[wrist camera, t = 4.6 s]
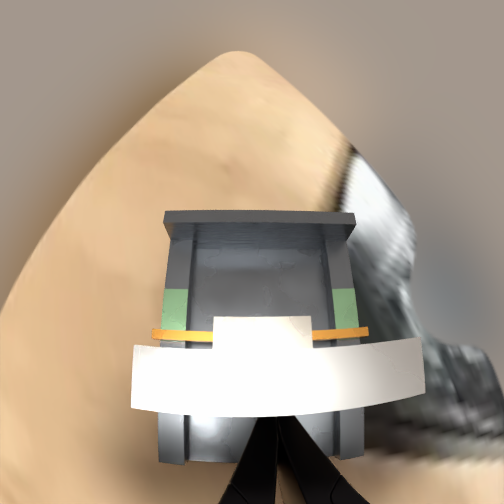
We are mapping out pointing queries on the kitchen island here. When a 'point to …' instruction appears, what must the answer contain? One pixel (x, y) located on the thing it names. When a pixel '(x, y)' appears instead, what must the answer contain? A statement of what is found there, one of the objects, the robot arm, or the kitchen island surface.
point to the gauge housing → (256, 309)
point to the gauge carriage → (272, 370)
